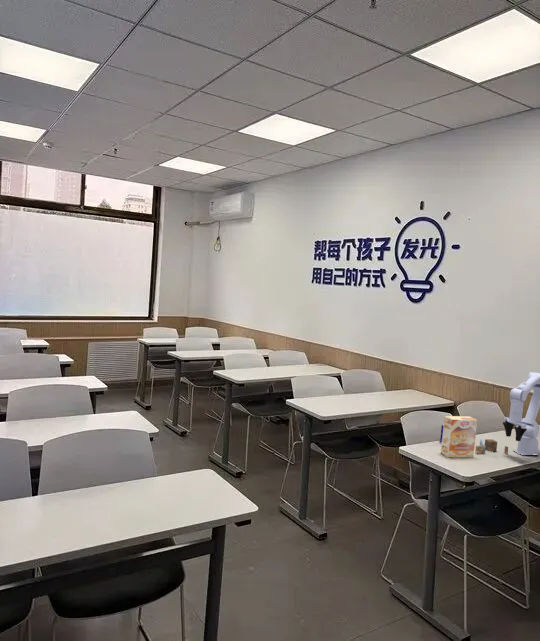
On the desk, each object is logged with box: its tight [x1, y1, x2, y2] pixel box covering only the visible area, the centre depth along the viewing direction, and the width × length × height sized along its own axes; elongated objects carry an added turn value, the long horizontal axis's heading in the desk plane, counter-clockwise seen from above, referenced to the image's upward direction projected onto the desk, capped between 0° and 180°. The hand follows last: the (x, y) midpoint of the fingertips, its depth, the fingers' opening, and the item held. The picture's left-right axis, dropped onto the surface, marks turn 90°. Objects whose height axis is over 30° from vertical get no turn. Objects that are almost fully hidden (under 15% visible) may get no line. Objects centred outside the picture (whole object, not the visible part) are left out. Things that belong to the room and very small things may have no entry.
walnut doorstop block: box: [484, 438, 498, 452], centre depth 275 cm, size 4×4×6 cm
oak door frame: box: [474, 445, 509, 455], centre depth 269 cm, size 18×2×4 cm, turn 101°
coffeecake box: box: [440, 415, 478, 458], centre depth 262 cm, size 15×7×20 cm, turn 105°
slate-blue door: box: [479, 438, 486, 455], centre depth 274 cm, size 13×1×4 cm, turn 164°
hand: (513, 438), depth 263 cm, fingers open, 7 cm apart
